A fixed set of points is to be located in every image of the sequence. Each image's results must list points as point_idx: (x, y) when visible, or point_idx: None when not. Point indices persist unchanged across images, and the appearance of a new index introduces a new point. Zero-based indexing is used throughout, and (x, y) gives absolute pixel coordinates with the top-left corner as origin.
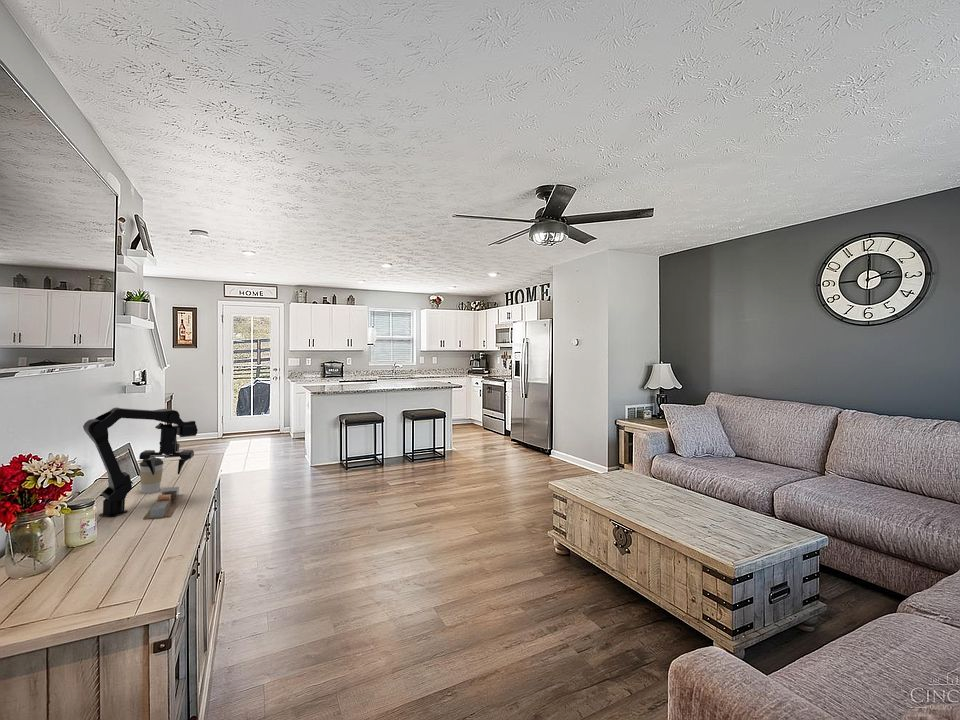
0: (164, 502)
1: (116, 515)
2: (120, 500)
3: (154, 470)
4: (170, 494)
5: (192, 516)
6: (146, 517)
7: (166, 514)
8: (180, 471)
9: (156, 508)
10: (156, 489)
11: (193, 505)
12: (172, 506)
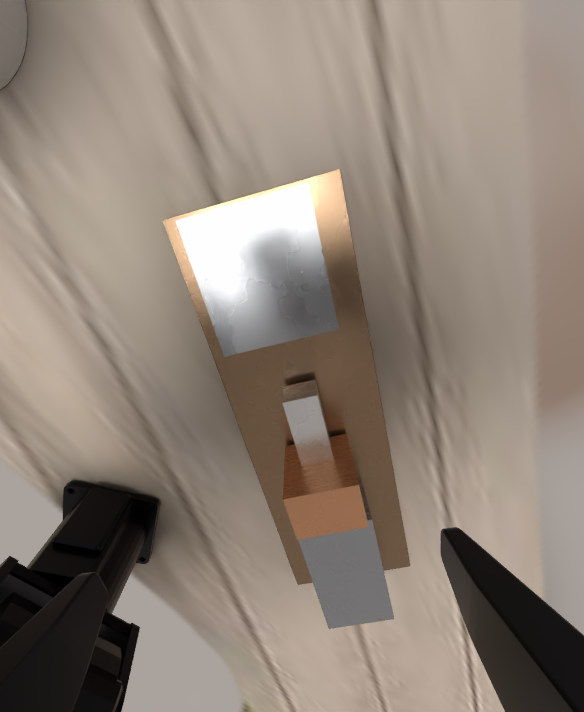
0: (357, 552)
1: (151, 551)
2: (113, 609)
3: (56, 663)
4: (358, 490)
5: (507, 554)
6: (307, 578)
7: (383, 551)
8: (493, 563)
9: (356, 623)
10: (7, 26)
11: (478, 411)
12: (366, 449)
